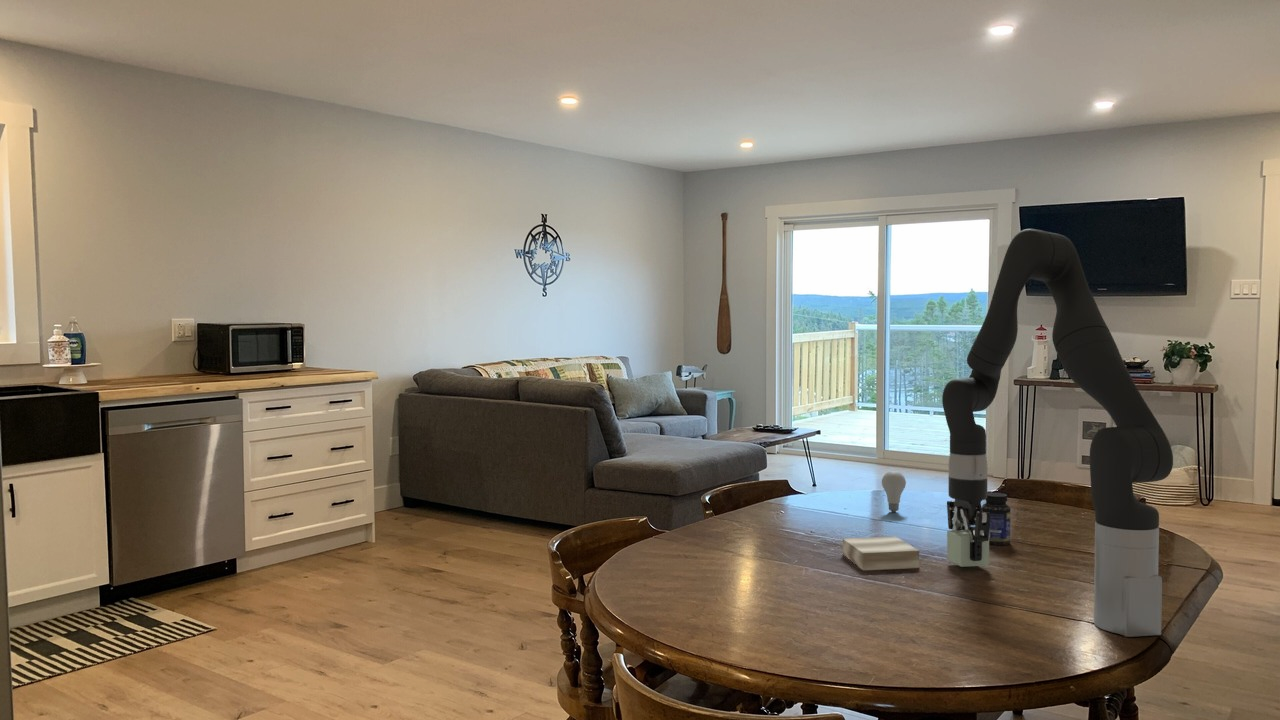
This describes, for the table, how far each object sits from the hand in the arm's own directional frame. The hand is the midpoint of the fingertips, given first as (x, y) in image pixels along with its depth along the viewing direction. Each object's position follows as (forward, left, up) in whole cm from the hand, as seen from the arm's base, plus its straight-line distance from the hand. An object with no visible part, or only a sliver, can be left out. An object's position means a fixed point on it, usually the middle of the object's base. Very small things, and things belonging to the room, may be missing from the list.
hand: (967, 556), depth 184 cm
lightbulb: (+52, -6, -3) cm, 53 cm away
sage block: (0, 0, -1) cm, 1 cm away
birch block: (+7, +16, -3) cm, 18 cm away
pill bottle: (+18, -16, -3) cm, 25 cm away
